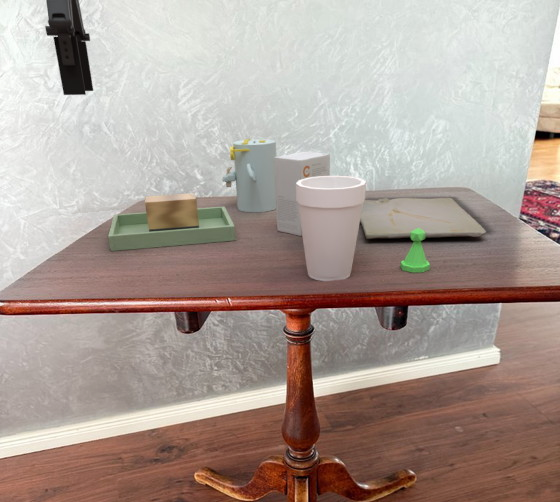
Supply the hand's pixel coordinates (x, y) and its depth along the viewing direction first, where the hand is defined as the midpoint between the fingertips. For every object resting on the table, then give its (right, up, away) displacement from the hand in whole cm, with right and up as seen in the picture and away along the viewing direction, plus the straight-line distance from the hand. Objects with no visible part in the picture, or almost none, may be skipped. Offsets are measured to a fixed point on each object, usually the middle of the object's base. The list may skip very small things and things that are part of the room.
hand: (79, 93), depth 77 cm
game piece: (+49, -24, +4) cm, 55 cm away
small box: (+33, -13, +24) cm, 43 cm away
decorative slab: (+54, -12, +26) cm, 61 cm away
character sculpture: (+22, -4, +40) cm, 46 cm away
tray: (+9, -14, +24) cm, 29 cm away
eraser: (+9, -13, +24) cm, 29 cm away
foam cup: (+36, -26, +3) cm, 44 cm away
